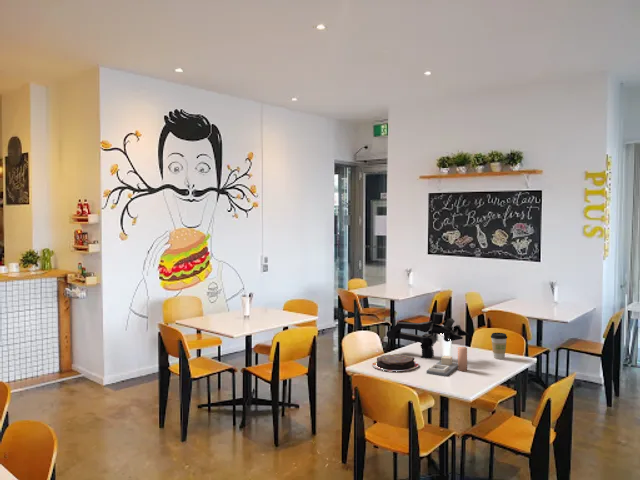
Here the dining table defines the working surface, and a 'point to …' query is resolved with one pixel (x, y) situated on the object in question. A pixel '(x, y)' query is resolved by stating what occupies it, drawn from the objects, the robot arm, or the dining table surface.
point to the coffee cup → (499, 345)
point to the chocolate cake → (395, 363)
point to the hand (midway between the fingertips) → (465, 336)
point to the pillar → (462, 359)
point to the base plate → (443, 367)
